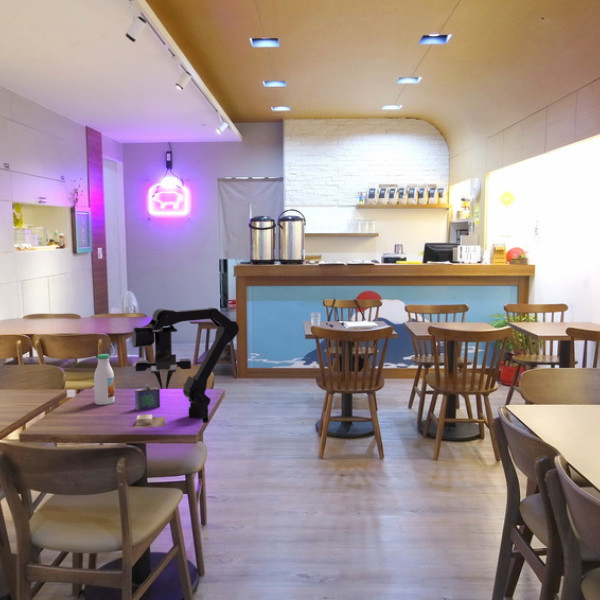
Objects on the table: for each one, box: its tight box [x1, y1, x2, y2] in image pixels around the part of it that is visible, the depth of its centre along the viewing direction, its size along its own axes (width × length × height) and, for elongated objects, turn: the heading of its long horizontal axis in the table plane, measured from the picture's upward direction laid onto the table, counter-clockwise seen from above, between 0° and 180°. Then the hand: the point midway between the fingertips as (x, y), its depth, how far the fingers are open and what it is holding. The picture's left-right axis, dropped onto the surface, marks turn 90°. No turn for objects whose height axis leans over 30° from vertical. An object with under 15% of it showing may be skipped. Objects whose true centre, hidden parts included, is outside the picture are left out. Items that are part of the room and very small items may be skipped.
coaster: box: [136, 414, 153, 425], centre depth 196 cm, size 5×5×2 cm
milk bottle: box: [93, 353, 116, 406], centre depth 228 cm, size 8×8×20 cm
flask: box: [134, 383, 161, 411], centre depth 215 cm, size 9×3×11 cm, turn 109°
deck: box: [134, 416, 166, 429], centre depth 196 cm, size 10×12×2 cm
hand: (164, 389), depth 196 cm, fingers closed
